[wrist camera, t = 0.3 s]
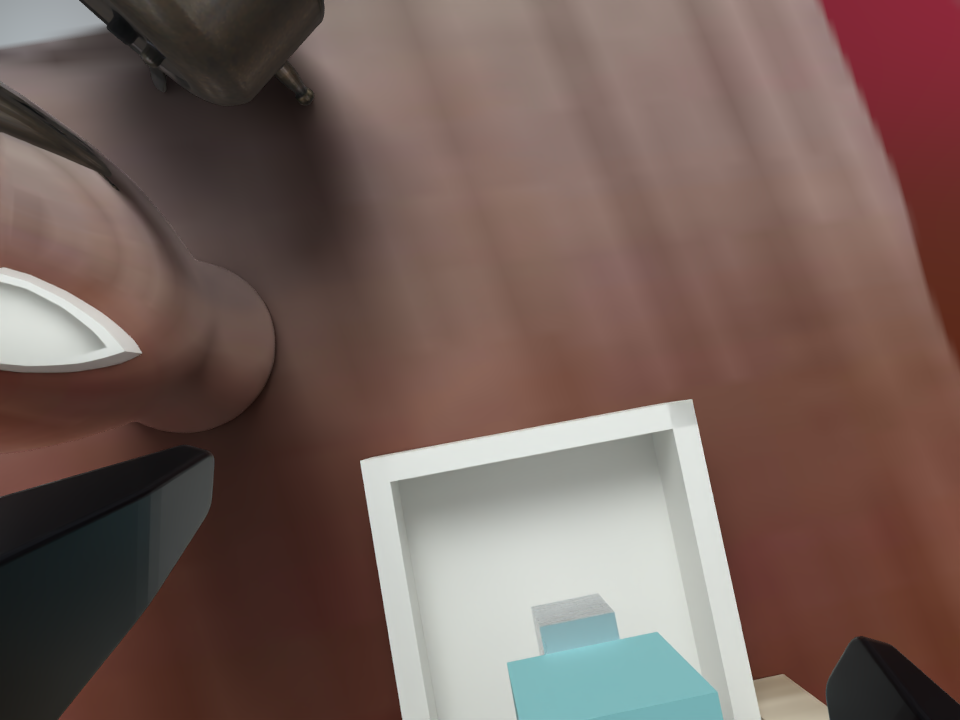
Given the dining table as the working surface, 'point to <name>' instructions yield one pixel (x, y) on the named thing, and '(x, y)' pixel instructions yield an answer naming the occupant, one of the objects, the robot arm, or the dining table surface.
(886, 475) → the dining table surface
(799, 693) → the guide frame
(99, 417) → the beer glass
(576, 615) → the grey l-shaped block
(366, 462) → the tray
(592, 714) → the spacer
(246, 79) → the alarm clock
